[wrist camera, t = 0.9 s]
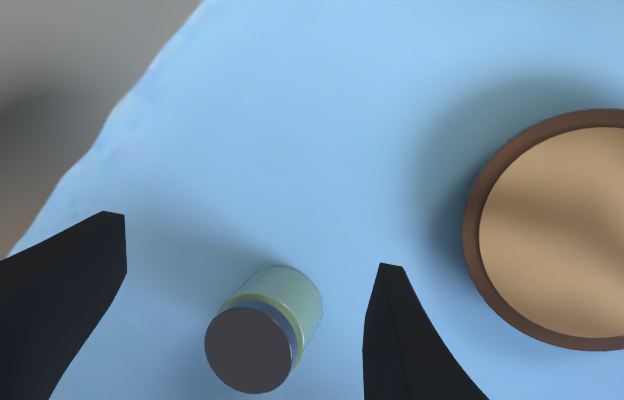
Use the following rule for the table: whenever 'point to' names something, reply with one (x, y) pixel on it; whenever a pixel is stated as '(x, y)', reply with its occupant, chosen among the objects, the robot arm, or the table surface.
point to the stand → (553, 230)
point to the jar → (264, 330)
